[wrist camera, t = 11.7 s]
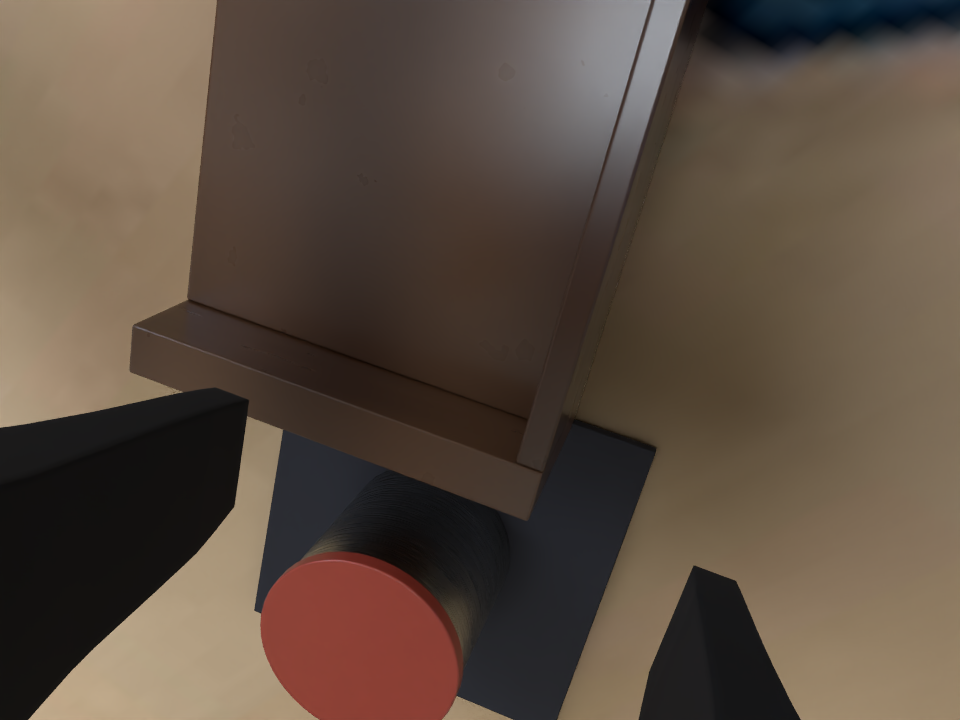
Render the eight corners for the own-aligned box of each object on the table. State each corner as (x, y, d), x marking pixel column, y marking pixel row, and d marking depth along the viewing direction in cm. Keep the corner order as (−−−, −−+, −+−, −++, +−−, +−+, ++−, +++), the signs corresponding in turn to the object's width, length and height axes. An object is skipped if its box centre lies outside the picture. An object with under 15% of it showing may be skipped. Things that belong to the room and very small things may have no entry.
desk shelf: (863, -487, 15) (915, -723, 10) (572, 425, 22) (527, 522, 18) (360, -560, 16) (213, -790, 12) (245, 310, 24) (128, 372, 19)
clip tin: (533, 499, 23) (481, 611, 18) (490, 640, 25) (433, 772, 20) (364, 436, 24) (274, 528, 19) (335, 577, 26) (248, 690, 21)
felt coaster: (657, 447, 22) (655, 452, 21) (552, 728, 26) (550, 735, 25) (304, 323, 23) (299, 327, 23) (258, 605, 27) (253, 610, 27)
